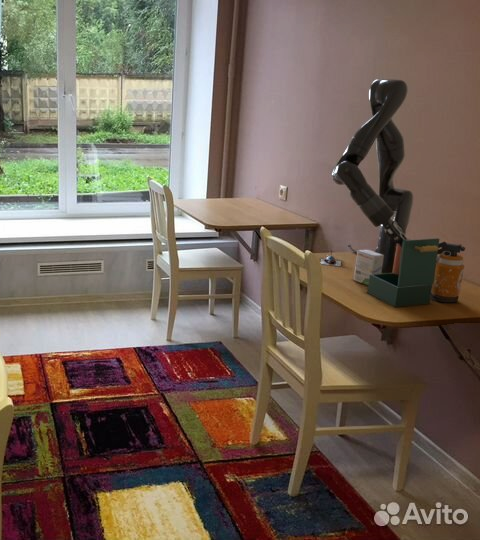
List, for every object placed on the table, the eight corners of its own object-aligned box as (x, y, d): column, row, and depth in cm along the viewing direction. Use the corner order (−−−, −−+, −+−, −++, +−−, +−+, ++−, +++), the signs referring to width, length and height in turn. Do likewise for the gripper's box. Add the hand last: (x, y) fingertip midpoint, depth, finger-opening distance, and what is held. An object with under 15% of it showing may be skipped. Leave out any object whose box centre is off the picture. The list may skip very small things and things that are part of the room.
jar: (389, 271, 209) (394, 238, 206) (399, 270, 210) (405, 237, 207) (397, 275, 205) (403, 241, 202) (408, 274, 206) (414, 240, 203)
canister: (456, 305, 203) (467, 248, 197) (420, 299, 209) (429, 243, 203) (458, 297, 210) (469, 242, 204) (423, 292, 216) (432, 237, 210)
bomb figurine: (320, 264, 248) (321, 251, 246) (320, 259, 254) (322, 246, 253) (340, 266, 245) (342, 253, 243) (341, 261, 252) (342, 248, 250)
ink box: (380, 285, 223) (384, 254, 219) (370, 286, 221) (374, 256, 217) (362, 278, 230) (366, 248, 226) (352, 280, 228) (356, 250, 224)
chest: (367, 292, 215) (369, 274, 213) (399, 289, 218) (402, 271, 216) (395, 307, 201) (398, 287, 199) (429, 303, 205) (432, 284, 203)
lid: (402, 240, 195) (413, 243, 191) (437, 238, 199) (449, 241, 194) (397, 286, 199) (408, 290, 195) (431, 283, 203) (443, 287, 198)
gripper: (384, 206, 198) (418, 247, 196) (387, 199, 210) (419, 237, 209) (364, 220, 202) (398, 260, 200) (368, 212, 214) (400, 250, 212)
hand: (409, 248), depth 204 cm, fingers closed on jar, 4 cm apart
